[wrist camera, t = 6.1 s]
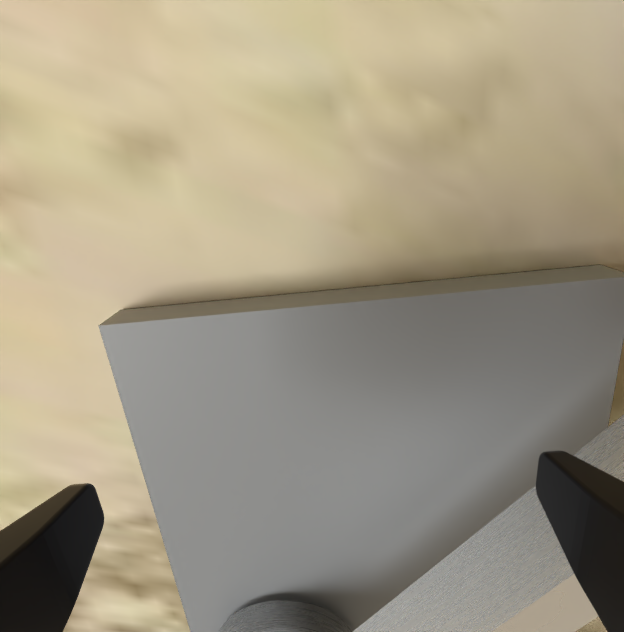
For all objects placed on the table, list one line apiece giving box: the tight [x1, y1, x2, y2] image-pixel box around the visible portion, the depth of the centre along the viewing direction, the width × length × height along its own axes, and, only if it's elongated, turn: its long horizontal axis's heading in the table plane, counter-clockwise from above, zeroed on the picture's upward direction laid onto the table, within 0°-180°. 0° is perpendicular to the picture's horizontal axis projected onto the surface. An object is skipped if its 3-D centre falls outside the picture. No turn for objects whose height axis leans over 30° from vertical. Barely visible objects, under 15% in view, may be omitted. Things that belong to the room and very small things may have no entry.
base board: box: [99, 265, 624, 632], centre depth 16 cm, size 18×16×2 cm
